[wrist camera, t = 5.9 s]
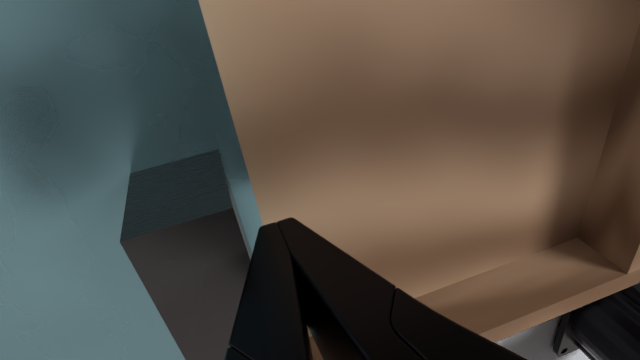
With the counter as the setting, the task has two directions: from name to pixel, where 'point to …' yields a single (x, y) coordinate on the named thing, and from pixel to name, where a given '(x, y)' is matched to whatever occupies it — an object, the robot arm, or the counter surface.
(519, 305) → the walnut box
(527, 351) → the counter surface
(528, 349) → the counter surface
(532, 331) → the counter surface
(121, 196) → the cover plate
